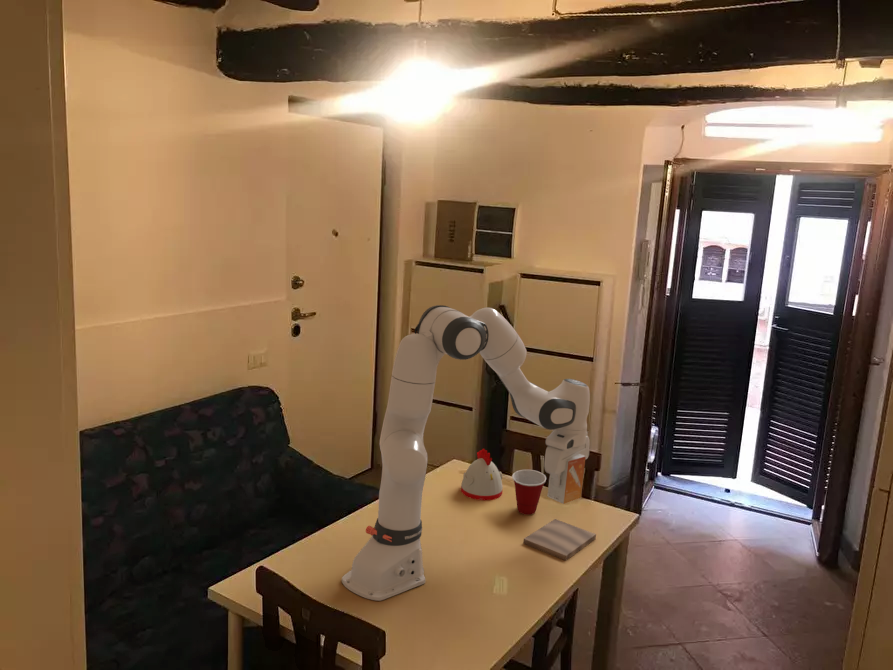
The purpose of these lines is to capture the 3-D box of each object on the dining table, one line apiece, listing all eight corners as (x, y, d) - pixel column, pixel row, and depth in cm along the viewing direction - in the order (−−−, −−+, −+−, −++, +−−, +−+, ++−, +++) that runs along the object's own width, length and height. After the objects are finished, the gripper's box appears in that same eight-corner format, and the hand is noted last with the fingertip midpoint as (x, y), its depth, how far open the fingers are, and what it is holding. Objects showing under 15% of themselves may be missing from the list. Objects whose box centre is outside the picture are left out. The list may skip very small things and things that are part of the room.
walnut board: (565, 560, 204) (566, 555, 204) (523, 543, 212) (523, 538, 212) (595, 538, 218) (596, 534, 218) (554, 523, 226) (555, 518, 226)
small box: (563, 504, 207) (568, 461, 205) (546, 496, 212) (550, 454, 209) (581, 498, 212) (586, 455, 210) (564, 490, 217) (569, 449, 215)
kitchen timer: (474, 503, 237) (477, 459, 234) (453, 487, 249) (456, 445, 246) (510, 496, 244) (513, 454, 241) (488, 481, 256) (491, 440, 253)
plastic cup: (503, 512, 231) (506, 477, 229) (517, 501, 241) (520, 466, 238) (535, 522, 226) (539, 485, 224) (548, 509, 236) (551, 474, 233)
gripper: (578, 424, 218) (573, 468, 221) (542, 440, 202) (538, 487, 205) (597, 429, 215) (592, 474, 217) (562, 446, 199) (557, 493, 201)
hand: (565, 480), depth 211 cm, fingers closed on small box, 8 cm apart
